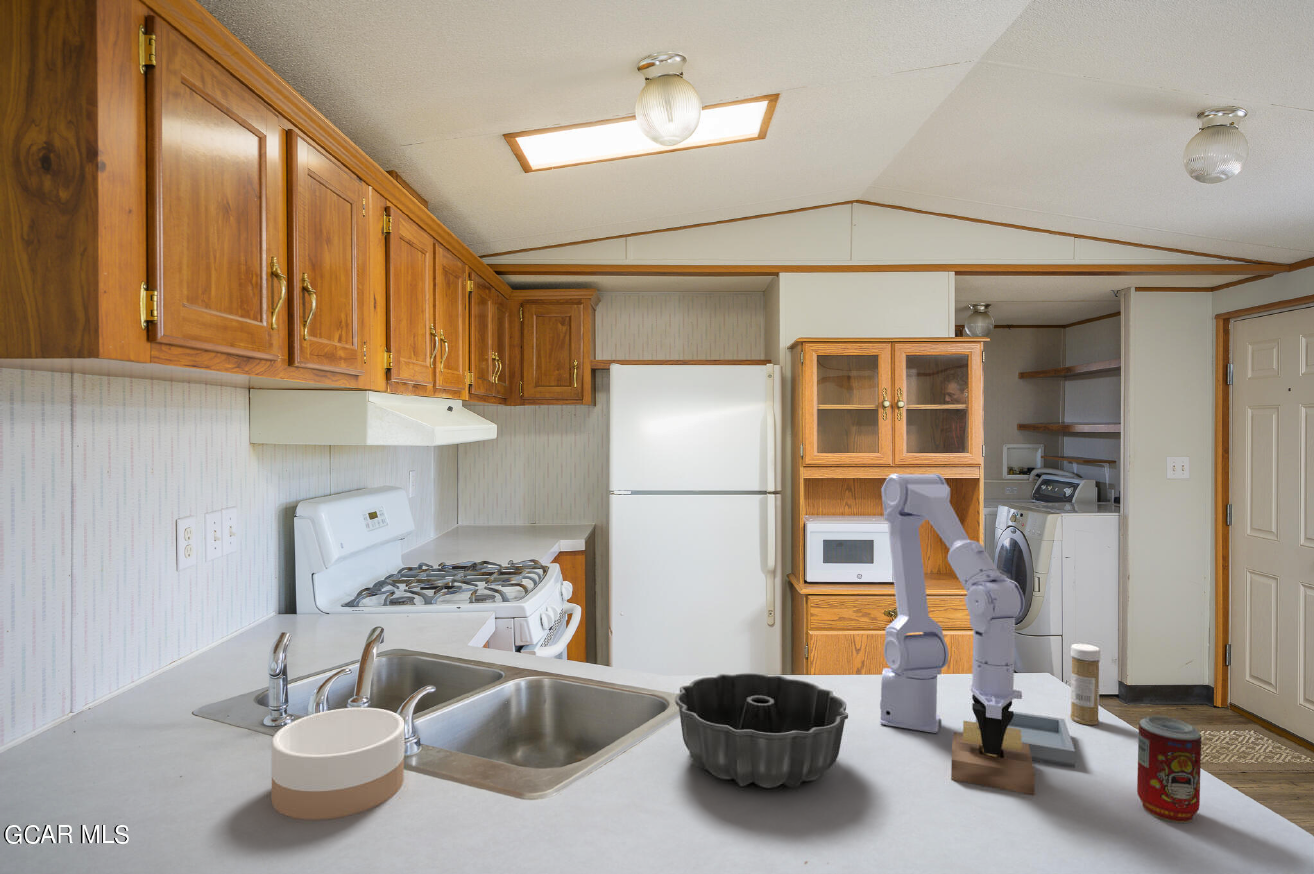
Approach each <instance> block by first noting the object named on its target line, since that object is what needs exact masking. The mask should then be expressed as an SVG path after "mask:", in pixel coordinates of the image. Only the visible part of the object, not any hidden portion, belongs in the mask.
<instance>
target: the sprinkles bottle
mask: <svg viewBox="0 0 1314 874" xmlns="http://www.w3.org/2000/svg"><path fill="white" fill-rule="evenodd" d="M1070 656H1071V675H1070V679H1071V681H1070V685H1071V686H1070V703H1071V704H1070V706H1071V708H1070V709H1071V710H1070V716H1069V717H1070V719H1071V720H1072V721H1074V722H1076V723H1078V724H1081V725H1088V726H1092V725H1094V726H1095V725H1097V724H1099V722H1100V719H1099V705H1100V684H1099V683H1100V682H1099V681H1100V680H1099V679H1100V660H1101V649H1100V648H1099V647H1097V646H1095V645H1092V644H1085V643H1074V644H1071V646H1070Z"/></svg>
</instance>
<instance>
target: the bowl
mask: <svg viewBox="0 0 1314 874" xmlns="http://www.w3.org/2000/svg"><path fill="white" fill-rule="evenodd" d="M404 759H405V721H404V719H403V718H402V716H400V715H399V714H398V713H395V712H393V711H391V710H387V709H382V708H375V707H348V708H347V707H346V708H337V709H331V710H326V711H321V712H317V713H313V714H311V715H307V716H304V717H301V718H299V719H296V720H293V721H292V722H289V723H288V724H286V725H284V726H282V728H280V729H279V730H278V731H277V732H276V733H275V734H274V736H273V738H272V740H271V769H270V770H271V771H270V772H271V773H270V774H271V804H272V806H273V808H274V809H275V810H276V812H278V813H280V814H281V815H283V816H287V817H290V818H293V819H298V820H299V819H300V820H313V821H314V820H315V821H316V820H318V821H319V820H331V819H337V818H343V817H347V816H350V815H351V816H352V815H356V814H359V813H361V812H364V811H368V810H370V809H373V808H375V807H376V806H380V805H382V804H383V803H385V802H386V801H388V800H389V799H391V798H392V797H394V796H395V795H396V794H397V792H398V791H399V790H400V789H401V788H402V786H403V782H404V779H405V778H404V777H405V776H404V772H405V770H404V769H405V768H404V767H405V763H404V762H405V760H404Z"/></svg>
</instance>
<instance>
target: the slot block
mask: <svg viewBox="0 0 1314 874" xmlns="http://www.w3.org/2000/svg"><path fill="white" fill-rule="evenodd" d="M951 748H952V749H951V770H950V771H951V775H950V779H951V780H952V781H957V782H961V783H962V782H964V783H968V784H972V785H973V784H974V785H978V786H985V787H989V788H995V789H1000V790H1007V791H1010V792H1016V793H1021V794H1026V795H1027V794H1028V795H1031V796H1032V795H1033V796H1035V769H1034V768H1035V767H1034V763H1033V760H1032V758H1031V752H1030V747H1029V744H1025V743H1021V751H1018V750H1012V749H1006V748H1001V751H1000V757H994V756H988V755H983V746H982V744H976V743H970V742H964V741H963V732H962V733H961V732H957V731H953V732H952V746H951Z"/></svg>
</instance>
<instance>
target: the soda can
mask: <svg viewBox="0 0 1314 874" xmlns="http://www.w3.org/2000/svg"><path fill="white" fill-rule="evenodd" d="M1202 739H1203V738H1202V734H1201V733H1200V732H1199V730H1197V728H1195V727H1194V726H1192V725H1191V724H1190V723H1187V722H1186V721H1185V722H1184V721H1183V720H1180V719H1177V718H1173V717H1169V716H1163V715H1153V716H1152V715H1151V716H1146V717H1145V718H1142V719H1140V721H1139V722H1138V741H1137V742H1138V743H1137V779H1136V781H1137V782H1136V783H1137V785H1136V787H1137V789H1136V792H1137V796H1138V797H1139V800H1140V802H1141V804H1142V808H1143V809H1144V811H1146V813H1149V815H1151V816H1153V817H1156V818H1157V819H1161V820H1164V821H1166V822H1167V821H1168V822H1172V823H1177V824H1179V823H1180V824H1184V823H1187V824H1188V823H1190V822H1192V821H1193V819H1194V816H1195V815H1196V814H1197V813H1198V811H1199V810H1200V804H1201V761H1202V758H1201V757H1202Z"/></svg>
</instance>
